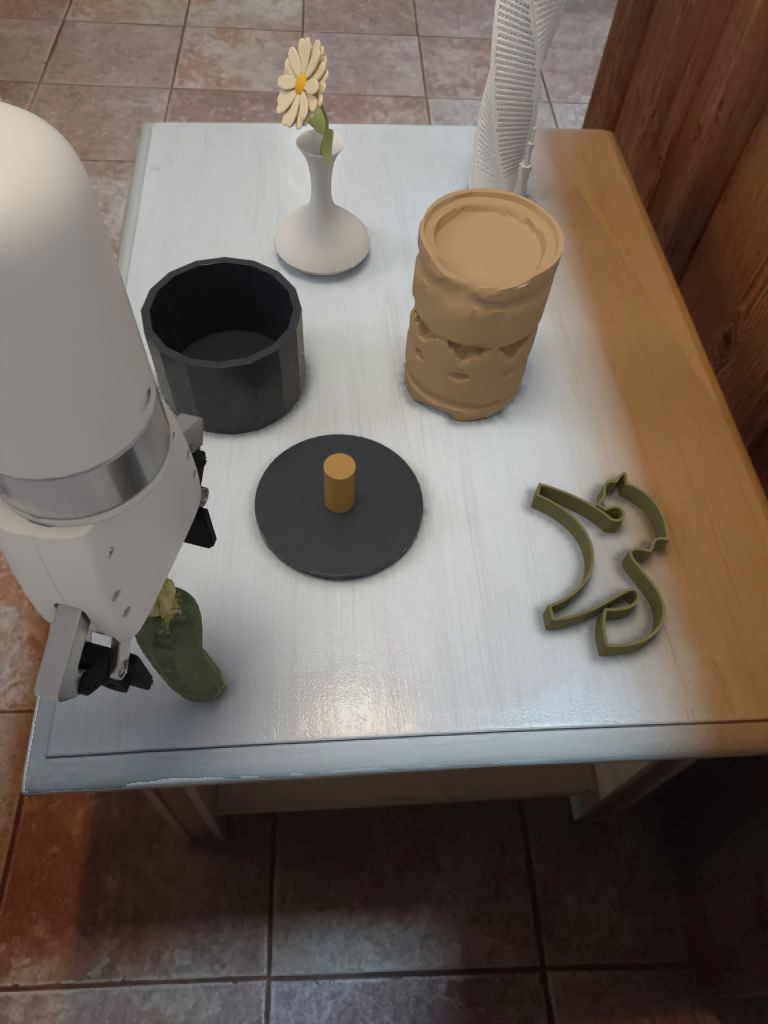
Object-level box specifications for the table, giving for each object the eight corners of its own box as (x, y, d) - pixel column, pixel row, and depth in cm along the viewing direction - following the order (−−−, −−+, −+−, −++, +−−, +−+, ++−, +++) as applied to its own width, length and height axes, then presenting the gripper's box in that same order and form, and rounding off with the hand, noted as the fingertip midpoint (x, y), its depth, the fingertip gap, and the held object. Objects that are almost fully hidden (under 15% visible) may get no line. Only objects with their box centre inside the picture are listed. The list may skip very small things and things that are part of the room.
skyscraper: (452, 218, 92) (492, -42, 68) (463, 181, 96) (504, -75, 72) (518, 231, 91) (581, -27, 67) (525, 193, 95) (588, -62, 72)
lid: (443, 560, 66) (453, 522, 60) (273, 598, 63) (266, 562, 57) (396, 428, 73) (401, 384, 68) (242, 456, 70) (234, 413, 65)
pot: (317, 419, 73) (315, 352, 65) (171, 445, 71) (150, 379, 63) (289, 320, 81) (283, 248, 73) (155, 340, 78) (134, 268, 70)
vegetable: (192, 728, 56) (130, 627, 39) (162, 686, 58) (89, 572, 41) (239, 692, 58) (198, 580, 41) (208, 652, 60) (157, 530, 43)
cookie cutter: (528, 478, 71) (533, 466, 69) (649, 485, 71) (656, 473, 70) (543, 652, 61) (549, 643, 60) (682, 659, 62) (692, 651, 60)
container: (511, 432, 74) (557, 294, 59) (391, 407, 75) (405, 265, 59) (526, 346, 80) (570, 202, 65) (415, 324, 81) (433, 177, 66)
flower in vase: (276, 221, 90) (257, -9, 68) (368, 223, 90) (378, -4, 69) (272, 293, 83) (249, 63, 62) (371, 295, 83) (383, 68, 62)
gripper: (86, 278, 35) (162, 479, 49) (-140, 591, 26) (34, 725, 40) (234, 311, 34) (267, 505, 49) (55, 644, 25) (161, 762, 40)
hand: (161, 605), depth 44 cm, fingers open, 9 cm apart
